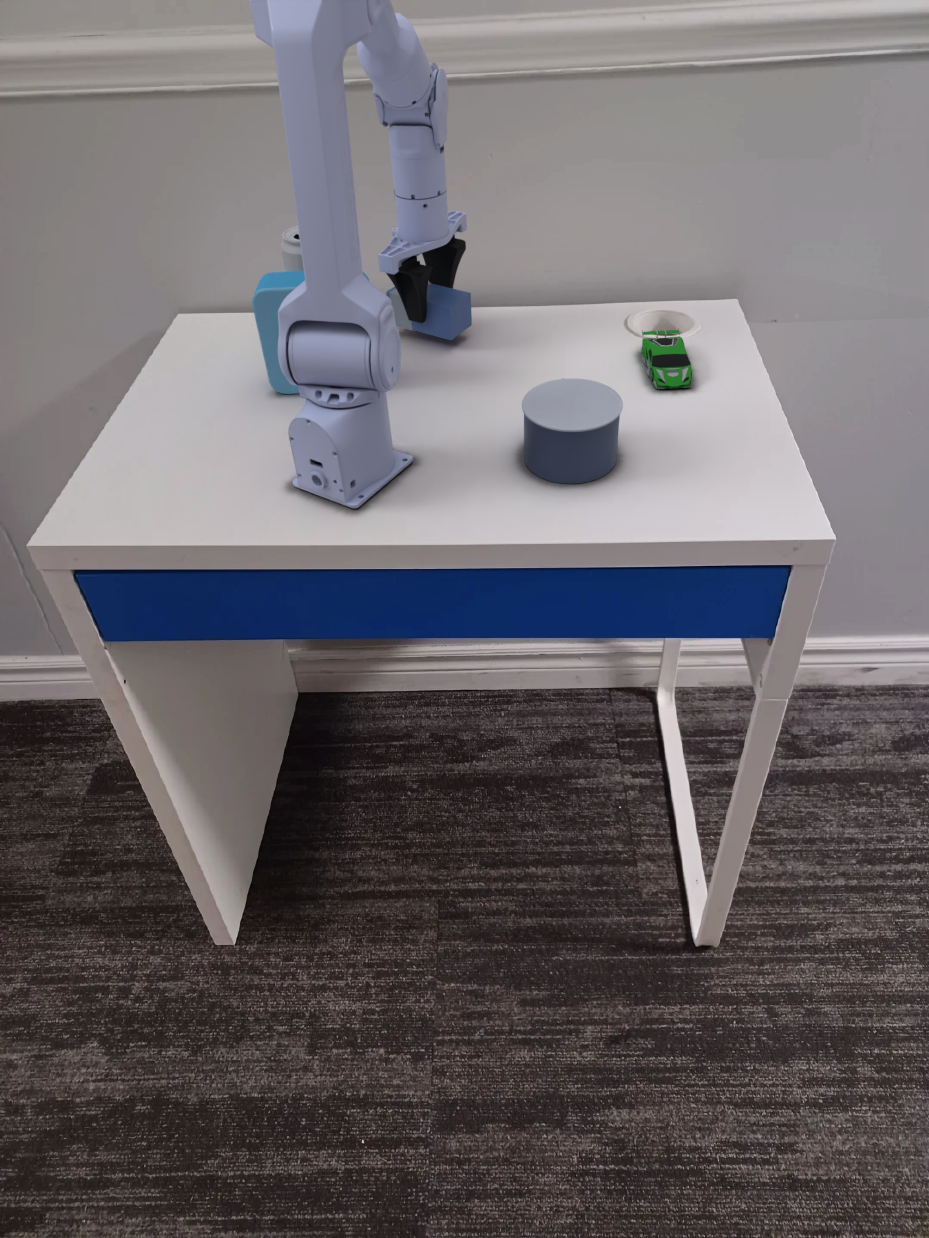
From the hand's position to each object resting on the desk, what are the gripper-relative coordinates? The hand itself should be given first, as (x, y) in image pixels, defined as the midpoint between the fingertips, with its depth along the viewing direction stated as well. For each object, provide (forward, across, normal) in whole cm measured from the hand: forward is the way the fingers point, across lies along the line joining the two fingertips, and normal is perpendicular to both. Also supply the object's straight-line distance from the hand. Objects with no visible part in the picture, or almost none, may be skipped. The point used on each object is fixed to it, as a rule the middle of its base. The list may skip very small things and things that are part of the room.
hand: (429, 312), depth 105 cm
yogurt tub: (+3, +15, +27) cm, 31 cm away
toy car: (+3, -6, +28) cm, 29 cm away
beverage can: (+3, +5, -13) cm, 14 cm away
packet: (+2, 0, 0) cm, 2 cm away
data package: (+3, +15, -4) cm, 16 cm away
